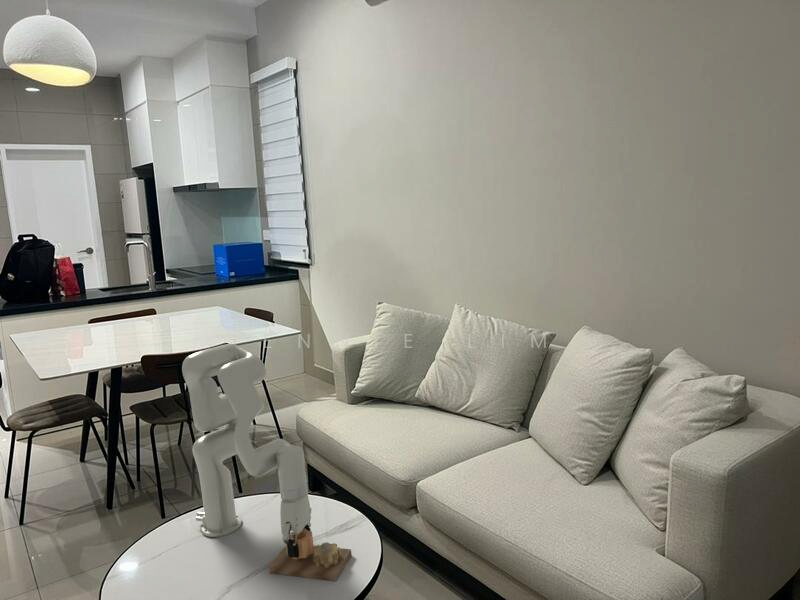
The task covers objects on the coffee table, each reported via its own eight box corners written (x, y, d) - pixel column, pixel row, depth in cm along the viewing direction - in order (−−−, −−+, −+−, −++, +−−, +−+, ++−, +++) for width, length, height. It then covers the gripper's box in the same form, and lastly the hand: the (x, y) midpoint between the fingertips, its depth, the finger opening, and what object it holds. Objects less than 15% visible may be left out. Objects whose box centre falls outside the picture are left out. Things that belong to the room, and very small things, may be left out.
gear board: (269, 573, 170) (267, 551, 169) (289, 548, 181) (286, 528, 180) (335, 581, 164) (333, 559, 163) (351, 555, 176) (349, 535, 175)
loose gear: (282, 557, 171) (281, 541, 170) (294, 543, 178) (292, 527, 177) (307, 560, 169) (305, 543, 168) (317, 545, 176) (316, 529, 175)
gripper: (295, 475, 179) (301, 531, 182) (266, 505, 163) (273, 565, 166) (318, 477, 177) (324, 533, 180) (292, 507, 161) (298, 568, 164)
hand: (300, 548), depth 173 cm, fingers closed on loose gear, 7 cm apart
